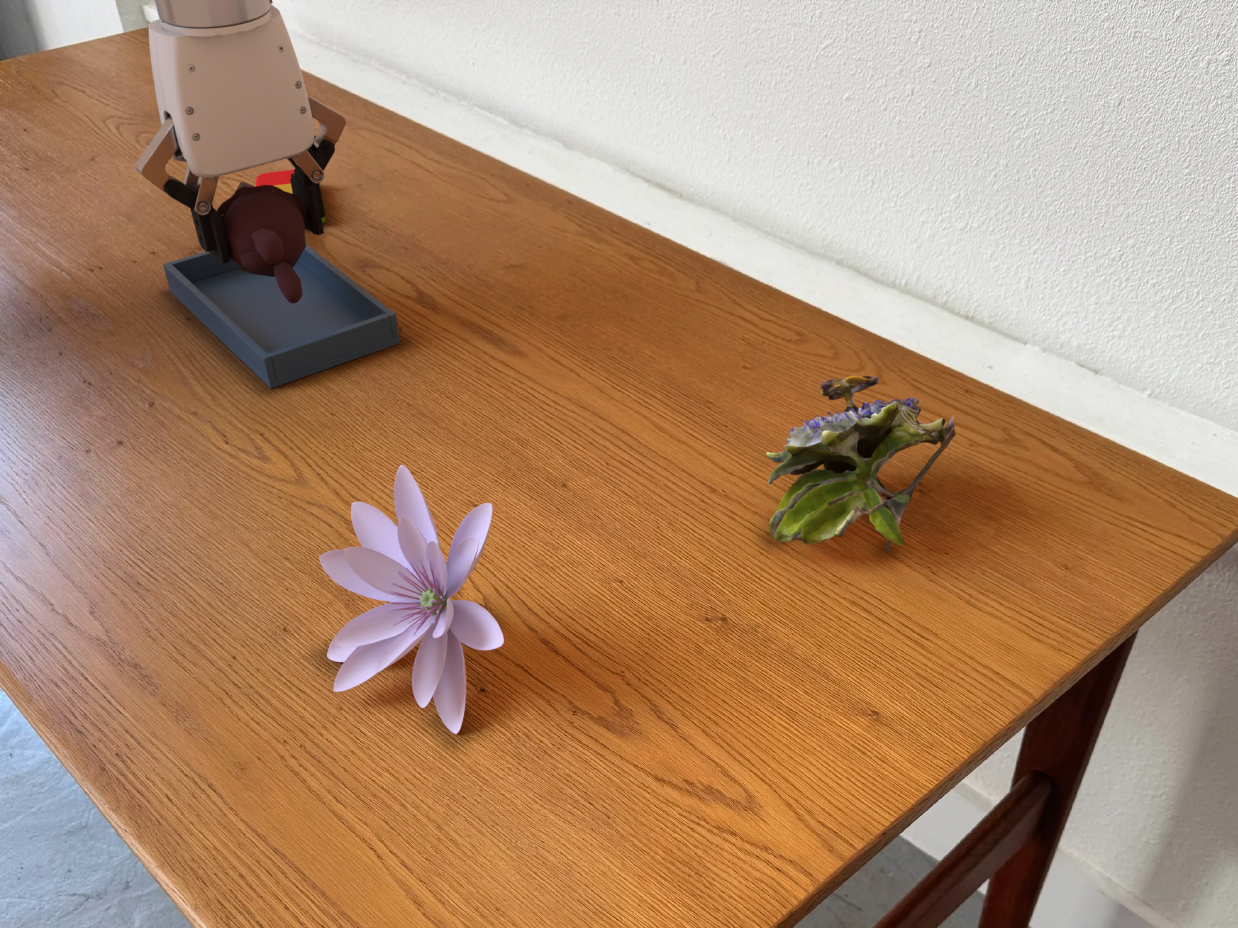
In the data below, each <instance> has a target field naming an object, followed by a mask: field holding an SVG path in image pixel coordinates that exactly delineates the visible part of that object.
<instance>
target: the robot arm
mask: <svg viewBox="0 0 1238 928" xmlns="http://www.w3.org/2000/svg"><path fill="white" fill-rule="evenodd" d="M154 3H155V6H156V11H157V15H158V19H156V20H152V21H150V23H149V24H148V45H149V46H148V47H149V55H150V64H151V65H150V66H151V70H152V71H151V72H152V80H153V85H154V86H153V87H154V92H155V97H156V104H157V110H158V116H159V120H160V125H161V127H160V128H159V130H158V131H157V132H156V134H154V136H153V137H152V139H151V140H150V142H149V143H148V145H147V146H146V148H145V149H144V150H143V151H142V154H141V155H140V156H139V158H138V159H137V160H136V163H135V165H134V167H135V170H136V172H137V173H139V174H140V175H141V177H143V178H144V179H145V180H147V181H149V182H150V183H151V184H153V186H155V187H157V188H158V189H159V190H161V191H162V192H164V193H165V194H166V195H168V196H169V197H170V198H172V199H173V200H175V201H177V202H178V203H180V204H182V205H184V206H185V207H187V208H189V209H190V214H191V217H192V221H193V225H194V228H195V232H196V236H197V241H198V243H199V245H200V247H201V249H202V250H203V252H209V253H210V254H212V255H213V256H214V257H215V258H216V259H217V260H219V261H220V262H221V263H222V264H225V263H228V262H230V260H231V255H230V251H229V247H228V243H227V239H226V235H225V230H224V226H223V222H222V218H221V215H220V213H219V212H218V211H217V210H218V209H216V208H214V206H213V205H214V204H213V203H214V198H215V194H216V191H217V186H218V182H219V178H220V177H223V176H226V175H230V174H234V173H237V172H241V171H245V170H249V169H253V168H257V167H260V166H264V165H268V164H271V163H275V162H279V161H282V160H287V161H288V162H289V163H290V165H291V166H292V168H293V170H294V173H292V174H291V178H290V182H291V187H292V192H293V194H295V195H296V196H298V197H299V198H300V200H301V203H302V207H303V210H304V211H305V212H306V215H307V219H306V224H305V230H307V231H308V232H310V233H311V234H313V235H315V236H321V235H323V234H325V230H324V225H323V224H324V223H323V224H322V219H321V218H324V217H325V218H326V212H325V206H324V201H323V195H322V190H321V185H320V183H322V182H323V181H324V179H325V172H324V171H325V169H326V168H327V166H328V164H329V163H330V161H331V159H332V157H333V155H334V154H335V152H336V147H335V146H336V144H337V143H338V142H339V140H340V138H341V135H342V134H343V131H344V129H345V128H346V124H347V120H346V117H345V116H344V115H342V114H340V113H339V112H337V111H336V110H334V109H332V108H330V107H329V106H327V105H325V104H324V103H322V102H321V101H319V100H316V99H315V98H313V97H312V96H310V95H308V92H307V88H306V85H305V81H304V77H303V74H302V70H301V67H300V63H299V60H298V58H297V57H298V56H297V54H296V51H295V48H294V45H293V43H292V39H291V36H290V34H289V31H288V29H287V26H286V23H285V21H284V19H283V16H282V14H281V12H280V10H279V9H278V8H277V7H276V6H275V5H273V3H274V1H273V0H154ZM313 119H314V120H316V121H318V124H319V125H318V128H317V133H316V135H315V126H314V121H313ZM171 158H172V159H173V160H175V161H177V162H184V163H187V165H186V168H185V173H184V178H183V182H182V181H180V180H178V179H177V178H176V177H174V176H172V175H170V174H169V173H168V172H167V170H166V165H167V164H168V162H169V161H170V160H171Z"/></svg>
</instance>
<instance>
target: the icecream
mask: <svg viewBox="0 0 1238 928" xmlns="http://www.w3.org/2000/svg"><path fill="white" fill-rule="evenodd" d="M216 210H217V211H218V212H219V213H220V215H221V218H222V222H223V226H224V230H225V235H226V239H227V243H228V247H229V251H230V255H231V259H232V260H233V261H234V262H236V263H237V264H238V266H239V268H240V270H242V271H246V272H247V273H251V274H256V275H263V276H269V277H276V280H277V283H278V286H279V289H280V290H281V292H282V294H283V295H284V297H285V298H286V299H287V300H288V302H290V303H293V304H294V303H297V302H298V301H299V300H300V299H301V297H302V296H303V295H302V286H301V279H300V278H299V276H298V275H297V274H296V272H295V271H294V269H293V267H294V266H295V264H296V262H297V261H298V259H299V258H300V256H301V254H302V253H303V251H304V249H305V247H306V244H307V240H306V228H305V224H306V219H307V215H306V212H305V211H304V210H303V207H302V203H301V200H300V198H299V197H298V196H296V195H295V194H292V193H289V192H286V191H283V190H281V189H280V188H278V187H275V186H272V185H261V186H256V185H255V186H254V185H252V184H251V183H248V182H245V181H240V182H239V184H238V186H237V187H236V190H235V191H234V193H233V195H232V196H231V197H229V198H228V199H226V200H224V201H223V202H222V203H221V204H220V205H219V206H218V207H217V209H216Z"/></svg>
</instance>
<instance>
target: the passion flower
mask: <svg viewBox="0 0 1238 928" xmlns="http://www.w3.org/2000/svg"><path fill="white" fill-rule="evenodd" d="M879 382H880V376H878V375H873V376H871V375H862V376H861V375H850V376H848V377H843V378H840V379H829V380H825V381H823V382H822V383H821V384H820V389H821V391H820V395H821V396H822V397H827V399H828V401H835V400H839V399H840V400H841V399H844V400H845V403H846V408H845V409H844V410H843V411H842V413H841V412H839V411H835V413H831V412H830V411H827V414H828V416H820V415H819V414H817V415H816V416H815V417H813V418H812V419H808V420H807V419H800V421H801V422H804V423H803V426H792V427H791V429H790V431H789V433H788V435H789V437H787V440H785V441H786V444H784V449H785V450H782V451H781V452H769V451H767V452H765V456H766V457H767V458H768V459H769V460H771V461H773V462H774V463H778V465H777V466H776V467H775V468H774V469H773V470H772V472H771V473H770V474H769V476H768V480H767V483H768V485H772V484H773V482H775V481H776V480H778V479H779V478H781V477H783V476H788V475H790V476H798V477H797V479H796V481H795V482H793V483H792V485H790V487H788V489H787V490H786V491H785V492H784V494H783V496H782V498H781V500H780V501H779V503H778V505H777V507H776V508H775V513H773V515H772V517H771V518H770V520H769V522H768V525H769V531H770V533H771V534H770V535H771V536H772V537H773V539H774V540H775V541H776V542H779V543H787V542H794V541H801V542H802V543H804V544H805V545H815V544H819V543H822V542H826V541H828V540H831V539H833V538H835V537H837V538H843V537H844V536H845V535H846V532H847V529H848V527H850V526H851V525H853V523H855V522H856V520H857V519H858V518H860V517H861V516H863V515H868V519H869V522H870V523H871V525H873V528H874V530H875V531H877V533H879V534H880V535H881V536H882V537H884V538H885V539H886V540H888V541H887V544H886V548H885V552H889V551H890V550H891V546H892V543H893V544H895V545H897V546H900V547H901V546H903V545H904V542H905V540H904V538H903V534H902V531H901V528H900V523H901V520H902V517H903V515H904V511H905V510H906V509H907V507H908V505H909V504H910V502H911V501H912V498H913V494H914V492H915V490H916V488H917V486H918V485H919V484H920V482H921V481H922V480H923V479H924V477H925V476H926V474H927V472H928V471H929V470H930V468H931V467H932V466H933V464H934V463H935V462H936V460H937V459H938V458H939V457H940V455H941V454H942V453H943V452H944V451H945V450H946V449H947V448H948V447H949V445H950V443H951V441H952V440H953V439H954V437H956V435H957V433H956V430H955V427H956V425H955V422H954V419H955V416H954V415H953V416H952V417H951V418H950V419H949V420H948V422H947V421H946V419H945V418H944V417H941V418H938V419H936V420H935V421H933V422H928V423H927V422H926V423H923V422H920V421H919V420H917V419H918V417H919V415H920V413H921V412H922V409H921V408H920V407H919V406H917V405H919V403H920V400H919V399H918V398H916V397H914V398H913V397H912V398H911V397H908V398H906V399H904V400H902V401H901V400H900V399H898V398H894V399H892V400H891V401H889V402H888V403H886V402H885V400H881V401H880V400H879V399H876V400H875V402H874V403H870V401H866V402H862V405H861V407H858V406H857V405H856V404H855V402H854V399H853V398H854V394H855V393H860V392H863V391H865V390H867V389H869V388H872V387H874V386H876V385H877V384H879ZM946 422H947V423H946ZM945 424H946V425H945ZM944 426H945V427H944ZM922 443H926V444H931V445H934V446H937V445H938V444H939V443H940V446H939V448H938V449H937V450H936V451H935V452H934V453H932V456H931V457H930V458H929V459H928V461H927V462H926V464H925V465H924V467H923V468H922V469H921V470H920V471H919V473H918V474H917V475H916V477H915V478H914V479H913V481H912V482H911V483H910V484H909V485H907V486H906V487H905V488H903V489H901V490H899V491H891V490H890V489H888V488H887V487H886V486H885V485H884V484H883V482H882V481H881V480H880V479H879V477H878V474H879V471H880V470H881V468H883V466H885V465H886V464H887V463H888V462H889V461H890V460H891V459H892V458H893V457H894V456H895V455H896V454H898V453H899V452H901V451H904V450H906V449H909V448H911V447H915V446H918V445H920V444H922ZM779 463H780V464H779ZM821 466H822V469H821V468H819V467H821ZM881 495H882V496H881ZM883 497H885V498H886V499H885V498H883Z"/></svg>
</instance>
